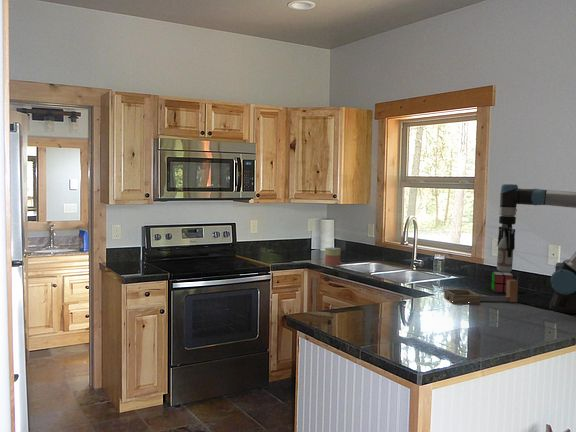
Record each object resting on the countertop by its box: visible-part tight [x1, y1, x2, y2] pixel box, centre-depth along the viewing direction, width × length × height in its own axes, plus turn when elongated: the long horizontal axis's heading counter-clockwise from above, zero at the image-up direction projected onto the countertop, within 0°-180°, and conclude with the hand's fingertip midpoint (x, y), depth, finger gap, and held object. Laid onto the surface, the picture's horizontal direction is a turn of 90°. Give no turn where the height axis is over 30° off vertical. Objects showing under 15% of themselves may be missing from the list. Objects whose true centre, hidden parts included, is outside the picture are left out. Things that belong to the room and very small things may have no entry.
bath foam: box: [496, 231, 514, 273], centre depth 270 cm, size 7×7×20 cm
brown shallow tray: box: [443, 288, 481, 306], centre depth 285 cm, size 15×13×4 cm
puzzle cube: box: [491, 271, 515, 294], centre depth 315 cm, size 10×10×10 cm
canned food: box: [324, 247, 342, 267], centre depth 401 cm, size 11×11×12 cm
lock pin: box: [480, 279, 519, 303], centre depth 285 cm, size 4×22×11 cm, turn 91°
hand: (504, 262), depth 271 cm, fingers closed on bath foam, 7 cm apart
